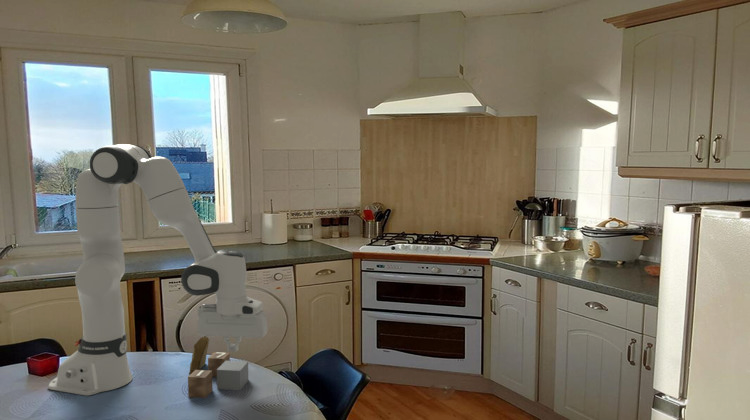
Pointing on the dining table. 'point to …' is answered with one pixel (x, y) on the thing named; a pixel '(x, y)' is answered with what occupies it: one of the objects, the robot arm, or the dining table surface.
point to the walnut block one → (200, 383)
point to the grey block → (232, 375)
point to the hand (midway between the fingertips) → (232, 350)
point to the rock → (199, 354)
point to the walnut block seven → (217, 361)
